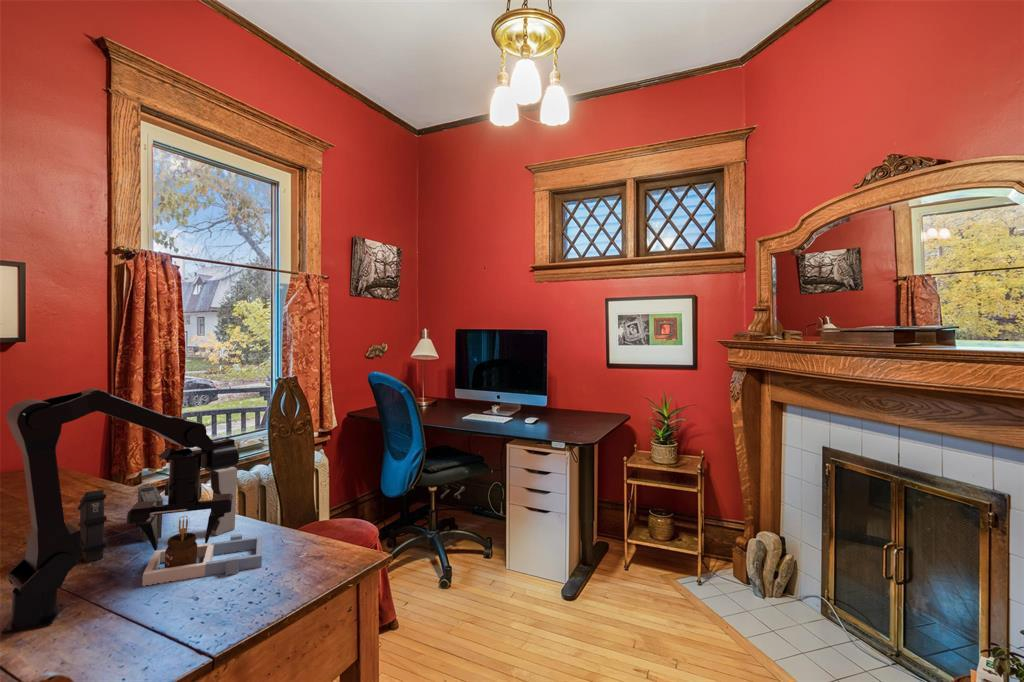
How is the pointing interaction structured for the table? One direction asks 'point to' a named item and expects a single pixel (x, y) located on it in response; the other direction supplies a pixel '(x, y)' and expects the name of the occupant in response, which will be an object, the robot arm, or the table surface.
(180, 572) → the beige grey rectangular frame
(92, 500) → the dark ridged block
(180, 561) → the utensil holder
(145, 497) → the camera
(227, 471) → the vintage mobile phone
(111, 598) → the table surface
